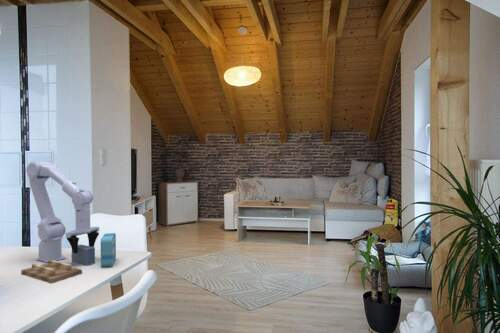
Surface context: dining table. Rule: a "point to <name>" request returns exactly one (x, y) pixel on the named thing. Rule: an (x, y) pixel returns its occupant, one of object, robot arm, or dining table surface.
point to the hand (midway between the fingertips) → (83, 250)
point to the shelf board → (51, 271)
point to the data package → (108, 249)
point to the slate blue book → (84, 255)
